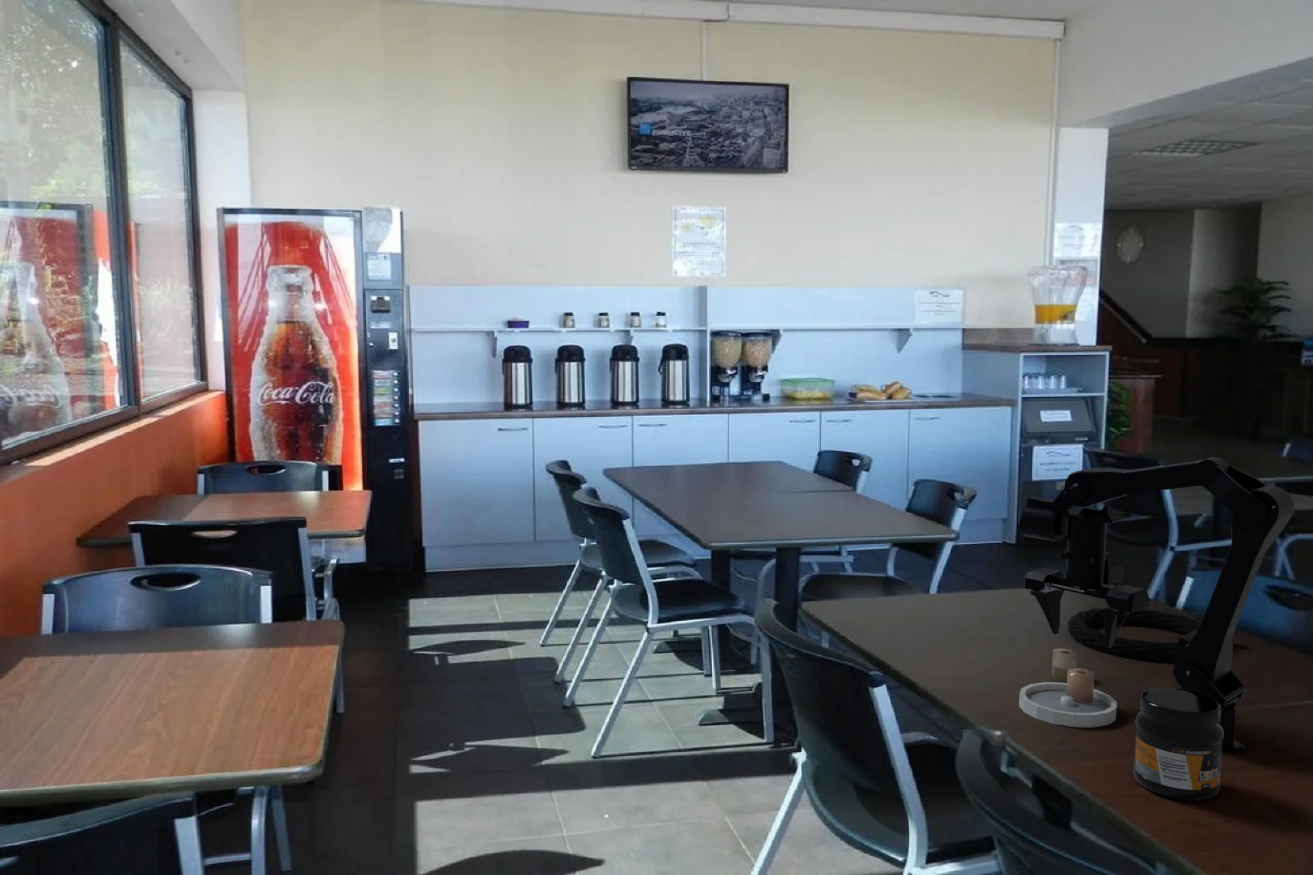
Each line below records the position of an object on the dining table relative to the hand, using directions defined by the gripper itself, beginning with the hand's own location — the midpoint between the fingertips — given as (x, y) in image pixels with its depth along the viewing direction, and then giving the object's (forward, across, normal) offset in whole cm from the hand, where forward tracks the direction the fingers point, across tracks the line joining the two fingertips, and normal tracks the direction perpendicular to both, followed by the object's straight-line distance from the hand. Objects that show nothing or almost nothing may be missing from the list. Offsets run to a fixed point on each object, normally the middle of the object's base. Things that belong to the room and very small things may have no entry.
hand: (1081, 640), depth 165 cm
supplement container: (+11, -24, +17) cm, 32 cm away
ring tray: (+11, 0, +4) cm, 11 cm away
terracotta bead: (+10, 0, 0) cm, 10 cm away
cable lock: (+12, +10, -43) cm, 46 cm away
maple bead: (+11, +9, -10) cm, 17 cm away
